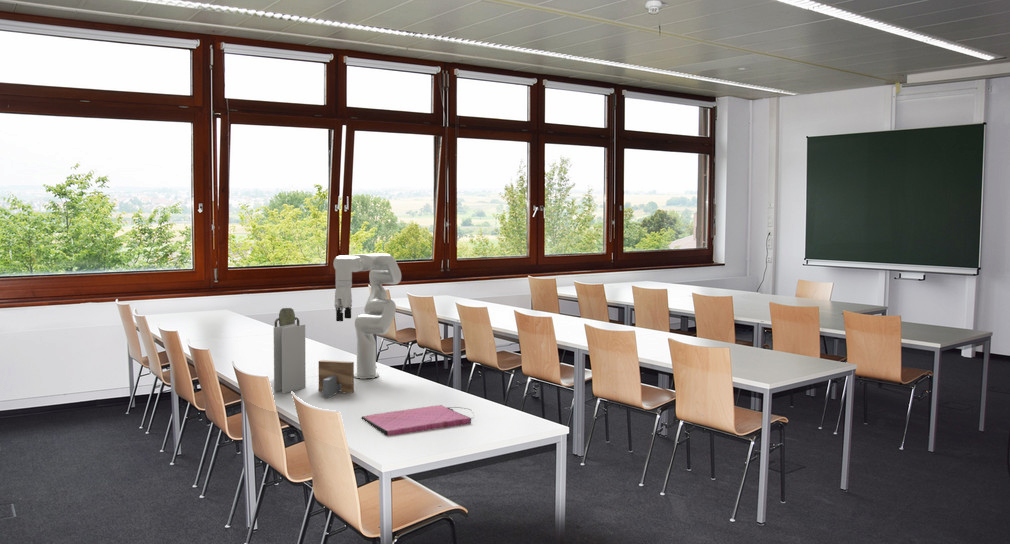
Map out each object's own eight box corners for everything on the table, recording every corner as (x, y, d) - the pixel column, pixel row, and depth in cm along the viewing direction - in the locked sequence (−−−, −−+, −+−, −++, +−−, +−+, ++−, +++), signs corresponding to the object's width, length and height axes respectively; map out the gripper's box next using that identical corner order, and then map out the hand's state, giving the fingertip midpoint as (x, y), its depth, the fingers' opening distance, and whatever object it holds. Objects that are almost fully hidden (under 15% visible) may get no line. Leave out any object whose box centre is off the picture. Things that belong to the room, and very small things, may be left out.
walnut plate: (321, 389, 351) (321, 360, 350) (353, 391, 348) (353, 361, 347) (318, 391, 348) (318, 361, 347) (351, 393, 345) (351, 363, 344)
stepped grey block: (343, 385, 360) (343, 369, 359) (348, 385, 359) (348, 369, 359) (322, 397, 336) (322, 379, 336) (328, 397, 336) (328, 380, 335)
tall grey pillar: (297, 386, 357) (296, 323, 355) (305, 387, 355) (305, 324, 352) (274, 391, 345) (273, 327, 343) (282, 393, 342) (282, 328, 340)
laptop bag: (386, 427, 280) (361, 411, 304) (386, 437, 281) (361, 421, 304) (480, 413, 301) (449, 399, 324) (480, 422, 301) (449, 408, 324)
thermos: (272, 378, 373) (271, 308, 370) (295, 375, 380) (295, 306, 377) (278, 381, 366) (277, 310, 363) (302, 378, 373) (301, 308, 370)
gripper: (343, 281, 362) (343, 316, 363) (328, 285, 345) (328, 322, 346) (358, 282, 361) (358, 317, 362) (344, 285, 344) (344, 322, 345)
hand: (343, 319), depth 354 cm, fingers open, 9 cm apart
